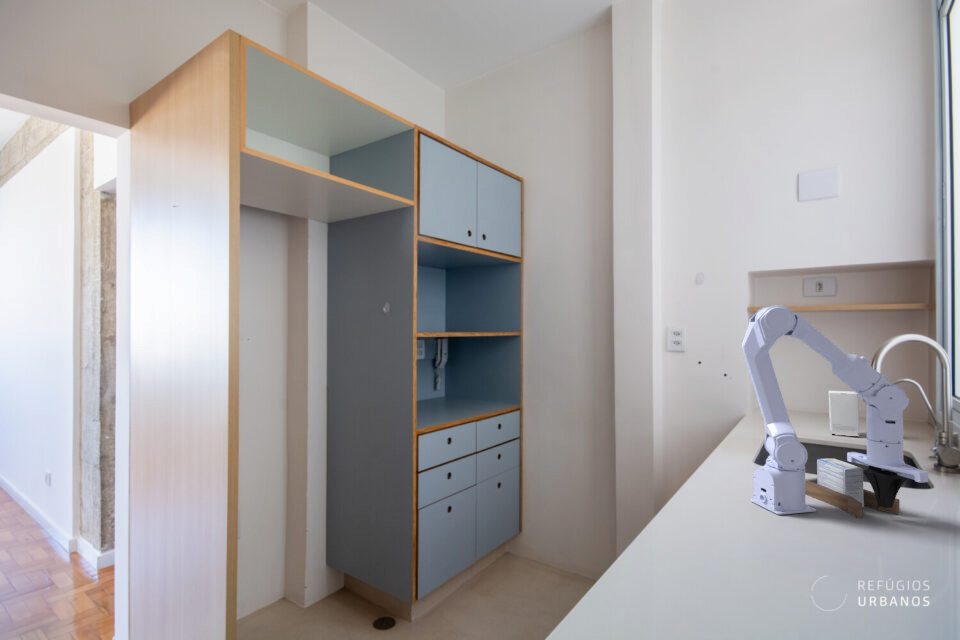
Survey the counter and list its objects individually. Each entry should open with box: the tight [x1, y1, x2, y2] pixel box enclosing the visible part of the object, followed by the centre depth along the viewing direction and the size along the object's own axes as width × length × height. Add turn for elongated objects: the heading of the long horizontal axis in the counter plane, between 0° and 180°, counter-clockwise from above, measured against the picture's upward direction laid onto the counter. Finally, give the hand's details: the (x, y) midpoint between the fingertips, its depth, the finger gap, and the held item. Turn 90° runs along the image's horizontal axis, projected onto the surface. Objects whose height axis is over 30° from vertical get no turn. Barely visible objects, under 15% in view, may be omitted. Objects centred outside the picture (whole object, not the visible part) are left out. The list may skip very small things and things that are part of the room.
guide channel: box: [805, 477, 901, 519], centre depth 105 cm, size 11×15×3 cm
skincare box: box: [828, 390, 860, 434], centre depth 168 cm, size 8×7×16 cm
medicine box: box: [816, 458, 865, 508], centre depth 105 cm, size 8×4×9 cm, turn 4°
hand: (885, 506), depth 96 cm, fingers closed
